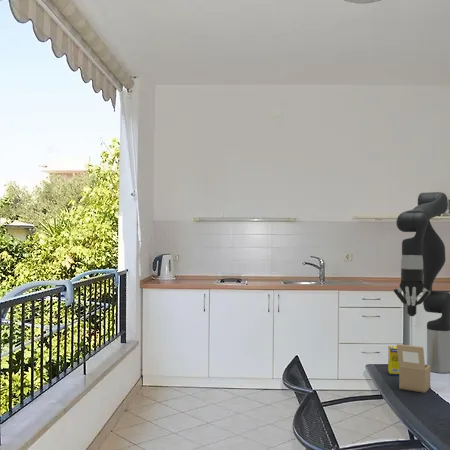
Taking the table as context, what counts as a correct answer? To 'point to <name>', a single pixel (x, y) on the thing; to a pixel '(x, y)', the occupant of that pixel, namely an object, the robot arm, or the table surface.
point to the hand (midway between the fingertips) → (411, 315)
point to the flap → (411, 356)
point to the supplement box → (393, 361)
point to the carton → (414, 379)
